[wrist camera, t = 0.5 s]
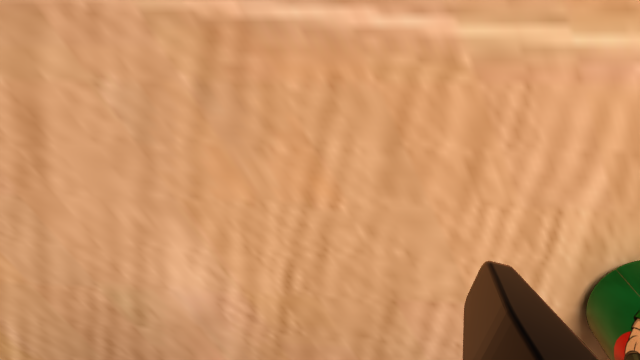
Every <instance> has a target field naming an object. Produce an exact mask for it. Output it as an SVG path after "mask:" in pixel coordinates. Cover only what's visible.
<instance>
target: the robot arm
mask: <svg viewBox="0 0 640 360" xmlns="http://www.w3.org/2000/svg"><path fill="white" fill-rule="evenodd" d="M463 360H599V359H598V358H597V357H596V356H595V355H594V354H593V353H592V352H591V351H590V350H589V349H588V347H587V346H586V345H585V344H584V343H583V342H582V341H581V340H580V339H579V338H578V337H577V336H576V335H575V334H574V333H573V332H572V330H571V329H570V328H569V327H568V326H567V325H566V324H565V323H564V322H563V321H562V320H561V319H560V318H559V317H558V316H557V314H556V313H555V312H554V311H553V310H552V309H551V308H550V307H549V306H548V305H547V304H546V303H545V302H544V301H543V300H542V298H541V297H540V296H539V295H538V294H537V293H536V292H535V291H534V290H533V289H532V288H531V287H530V286H529V285H528V284H527V283H526V281H525V280H524V279H523V278H522V277H521V276H520V275H519V274H518V273H517V272H516V271H515V270H514V269H513V268H512V267H511V266H509V265H505V264H500V263H496V262H492V261H487V262H485V263H484V264H483V265H482V266H481V268H480V270H479V272H478V274H477V276H476V279H475V281H474V283H473V285H472V287H471V289H470V291H469V293H468V295H467V298H466V301H465V306H464V331H463Z"/></svg>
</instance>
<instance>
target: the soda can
mask: <svg viewBox="0 0 640 360" xmlns="http://www.w3.org/2000/svg"><path fill="white" fill-rule="evenodd" d="M586 317H587V322H588V325H589V328H590V329H591V331H592V333H593V334H594V336H595V337H596V339H597V340H598V342H599V344H600V345H601V347H602V348H603V350H604V351H605V353H606V354H607V356H608V357H609V359H610V360H640V260H639V261H634V262H631V263H628V264H625V265H622V266H620V267H618V268H616V269H614V270H612V271H611V272H609V273H608V274H607V275H606V276H604V277H603V278H602V279H601V280H600V281H599V283H598V284H597V285H596V286H595V288H594V289H593V291H592V292H591V294H590V297H589V299H588V303H587V307H586Z"/></svg>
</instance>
